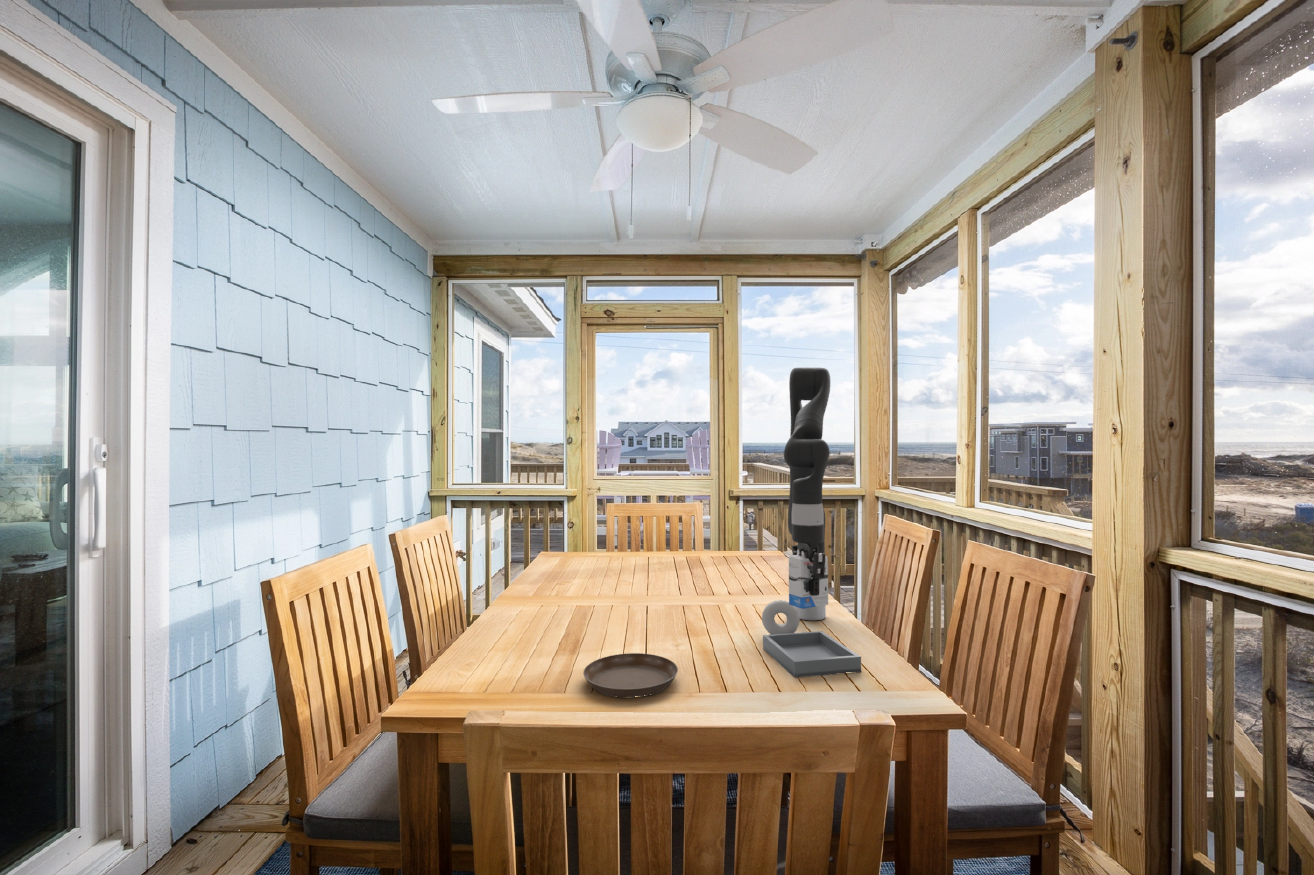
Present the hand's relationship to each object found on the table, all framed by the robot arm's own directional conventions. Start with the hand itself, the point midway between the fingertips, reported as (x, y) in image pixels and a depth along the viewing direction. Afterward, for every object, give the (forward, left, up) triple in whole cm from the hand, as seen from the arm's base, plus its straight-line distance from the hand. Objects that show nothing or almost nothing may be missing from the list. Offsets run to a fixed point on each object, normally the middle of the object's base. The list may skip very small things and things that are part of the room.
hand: (808, 591), depth 151 cm
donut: (-18, 0, -16) cm, 24 cm away
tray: (0, 0, -16) cm, 16 cm away
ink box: (0, 0, -3) cm, 3 cm away
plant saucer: (+5, -44, -17) cm, 47 cm away
